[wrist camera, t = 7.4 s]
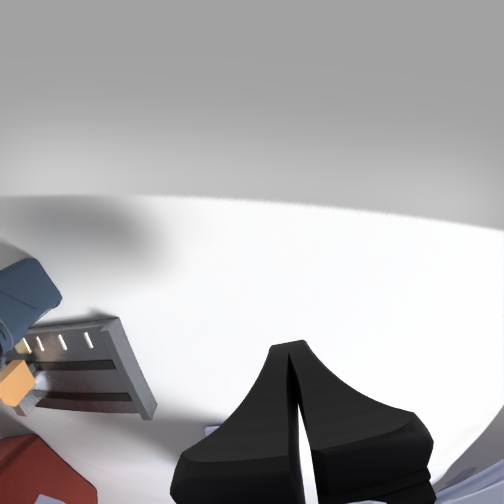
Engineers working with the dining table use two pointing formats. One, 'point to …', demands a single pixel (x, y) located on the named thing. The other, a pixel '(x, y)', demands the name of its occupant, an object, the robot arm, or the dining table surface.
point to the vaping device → (23, 300)
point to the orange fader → (16, 381)
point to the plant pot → (38, 474)
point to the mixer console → (82, 369)
